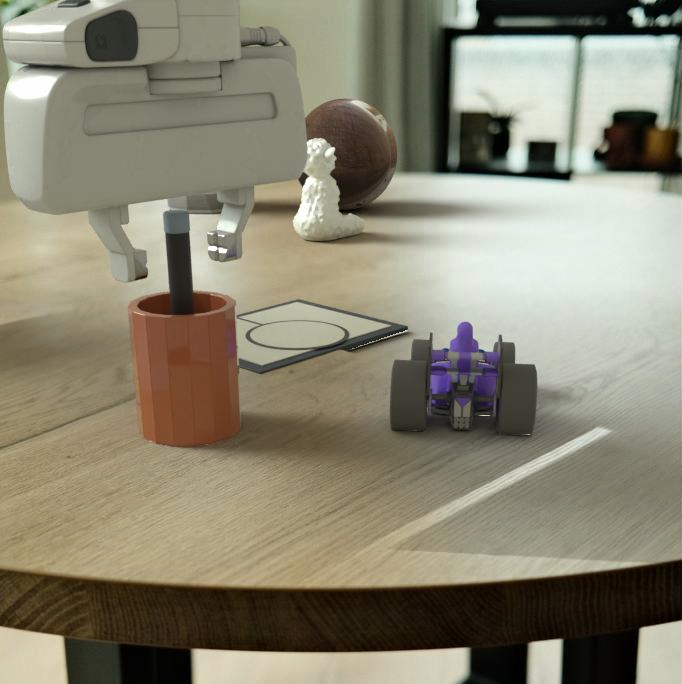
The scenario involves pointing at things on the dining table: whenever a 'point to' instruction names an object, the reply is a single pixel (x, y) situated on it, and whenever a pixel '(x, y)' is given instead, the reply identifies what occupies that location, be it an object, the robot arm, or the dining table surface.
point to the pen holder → (186, 369)
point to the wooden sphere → (355, 149)
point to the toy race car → (463, 385)
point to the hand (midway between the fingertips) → (179, 269)
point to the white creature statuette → (323, 199)
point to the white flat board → (302, 333)
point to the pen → (179, 261)
